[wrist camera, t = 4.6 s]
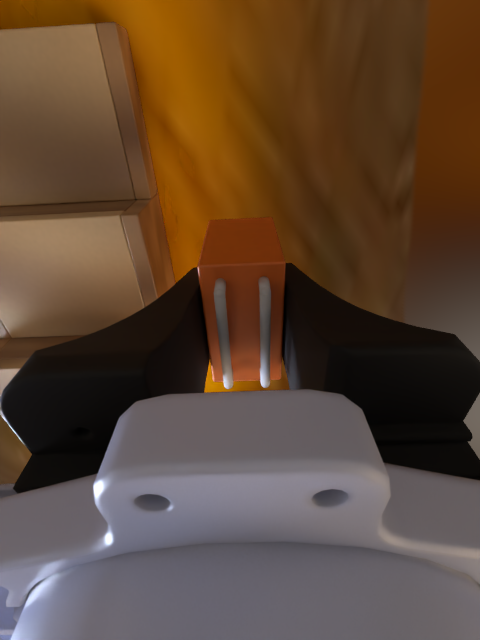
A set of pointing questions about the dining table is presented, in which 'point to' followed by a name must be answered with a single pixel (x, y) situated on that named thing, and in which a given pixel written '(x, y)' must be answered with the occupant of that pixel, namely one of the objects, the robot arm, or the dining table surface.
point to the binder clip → (243, 299)
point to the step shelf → (73, 190)
